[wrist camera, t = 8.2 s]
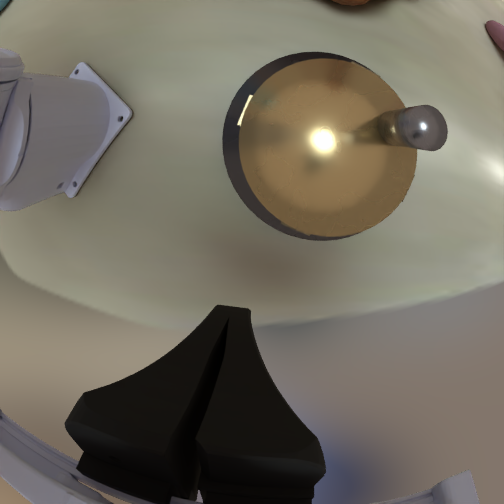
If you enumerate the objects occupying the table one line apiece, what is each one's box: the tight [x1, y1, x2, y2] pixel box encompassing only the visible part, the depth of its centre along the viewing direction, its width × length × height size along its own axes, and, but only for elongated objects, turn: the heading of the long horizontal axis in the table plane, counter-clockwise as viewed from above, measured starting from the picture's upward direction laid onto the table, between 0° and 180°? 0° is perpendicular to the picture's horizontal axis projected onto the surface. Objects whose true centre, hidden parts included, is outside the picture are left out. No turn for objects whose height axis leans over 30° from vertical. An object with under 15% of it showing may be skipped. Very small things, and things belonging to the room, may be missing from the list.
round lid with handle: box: [237, 58, 448, 237], centre depth 13 cm, size 10×10×7 cm
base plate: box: [222, 52, 385, 241], centre depth 17 cm, size 13×13×1 cm
